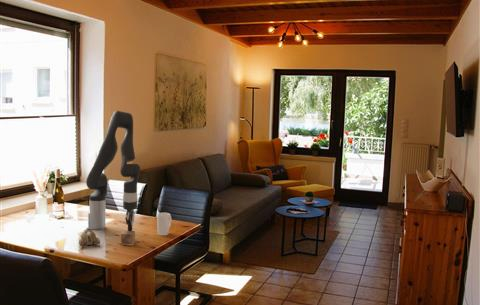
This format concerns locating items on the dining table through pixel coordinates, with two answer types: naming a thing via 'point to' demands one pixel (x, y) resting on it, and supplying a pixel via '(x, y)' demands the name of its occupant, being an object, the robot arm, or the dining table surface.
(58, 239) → the dining table surface
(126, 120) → the robot arm
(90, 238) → the ceramic sculpture
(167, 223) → the mug
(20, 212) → the dining table surface
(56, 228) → the dining table surface
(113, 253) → the dining table surface
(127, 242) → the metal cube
